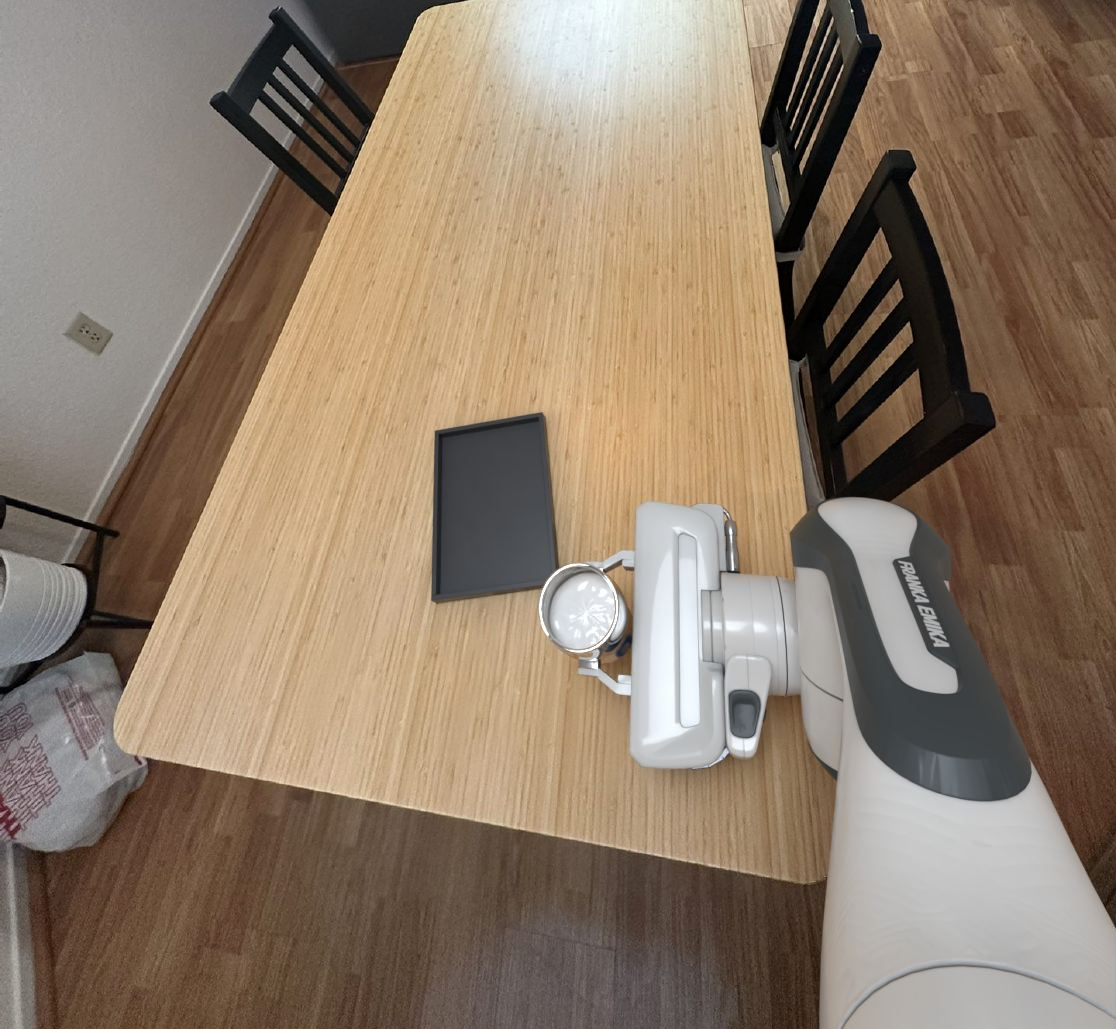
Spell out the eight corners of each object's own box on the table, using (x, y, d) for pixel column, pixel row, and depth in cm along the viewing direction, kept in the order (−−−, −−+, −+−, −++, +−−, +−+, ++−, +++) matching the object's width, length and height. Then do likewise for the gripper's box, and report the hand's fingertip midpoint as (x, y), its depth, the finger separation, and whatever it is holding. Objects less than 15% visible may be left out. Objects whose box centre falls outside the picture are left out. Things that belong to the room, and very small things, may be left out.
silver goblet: (557, 613, 64) (521, 588, 52) (615, 575, 64) (593, 542, 52) (591, 684, 60) (560, 676, 47) (653, 643, 60) (638, 624, 48)
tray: (560, 585, 73) (557, 583, 72) (436, 603, 75) (430, 600, 74) (545, 417, 86) (542, 411, 84) (439, 435, 87) (434, 430, 86)
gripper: (736, 495, 56) (584, 489, 59) (754, 784, 45) (565, 759, 48) (734, 513, 61) (594, 507, 64) (749, 777, 50) (579, 754, 53)
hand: (582, 616), depth 56 cm, fingers closed on silver goblet, 6 cm apart
